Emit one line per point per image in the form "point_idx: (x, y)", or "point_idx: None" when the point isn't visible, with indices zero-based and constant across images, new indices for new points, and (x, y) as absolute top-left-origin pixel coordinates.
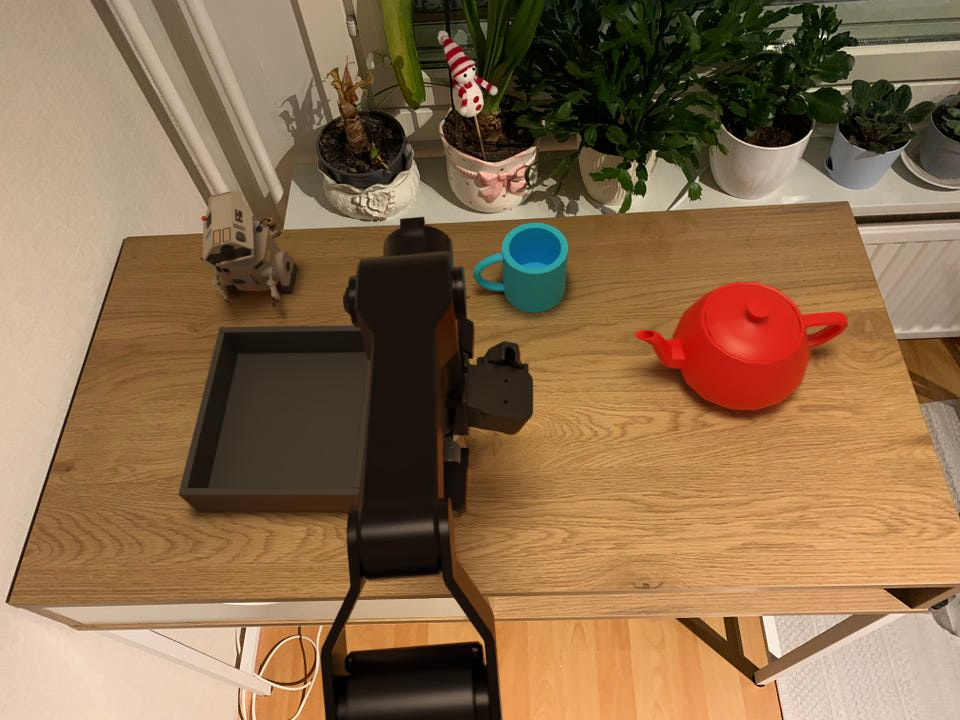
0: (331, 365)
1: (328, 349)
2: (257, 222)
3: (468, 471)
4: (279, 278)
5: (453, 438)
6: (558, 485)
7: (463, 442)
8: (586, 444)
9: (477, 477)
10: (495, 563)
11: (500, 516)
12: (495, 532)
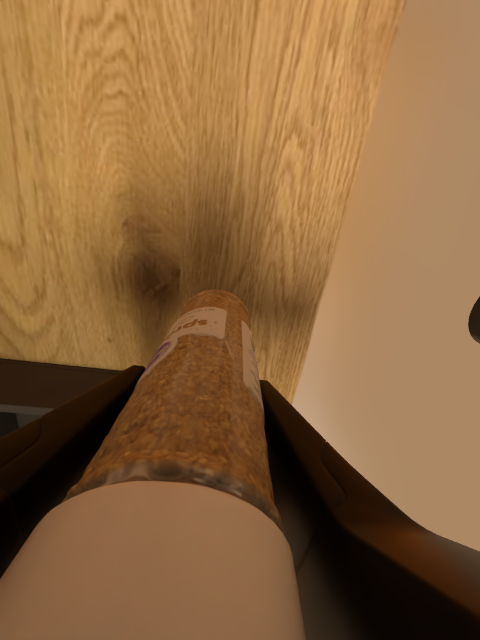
0: (35, 416)
1: (10, 424)
2: None
3: (218, 296)
4: None
5: (284, 580)
6: (216, 132)
7: (212, 376)
8: (144, 49)
9: (191, 260)
10: (307, 253)
11: (250, 236)
12: (269, 246)
